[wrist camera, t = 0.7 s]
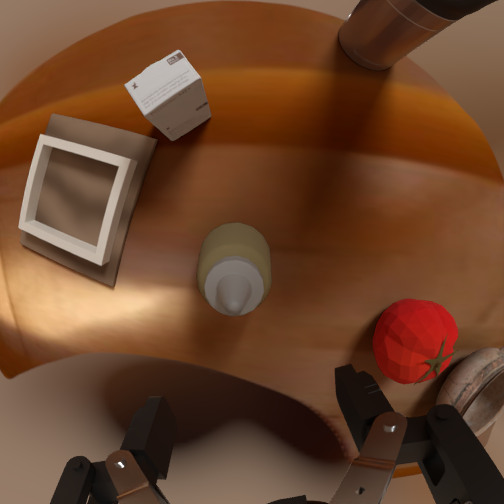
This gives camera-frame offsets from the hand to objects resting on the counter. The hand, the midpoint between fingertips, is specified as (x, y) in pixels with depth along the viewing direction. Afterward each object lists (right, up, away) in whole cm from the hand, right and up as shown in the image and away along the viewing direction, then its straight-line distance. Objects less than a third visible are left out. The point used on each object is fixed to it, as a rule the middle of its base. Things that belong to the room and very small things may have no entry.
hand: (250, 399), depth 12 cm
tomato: (+22, -4, +28) cm, 35 cm away
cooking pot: (+42, -19, +32) cm, 56 cm away
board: (-24, +14, +22) cm, 35 cm away
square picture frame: (-24, +14, +22) cm, 35 cm away
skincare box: (-8, +24, +21) cm, 33 cm away
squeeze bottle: (-2, +7, +24) cm, 25 cm away
